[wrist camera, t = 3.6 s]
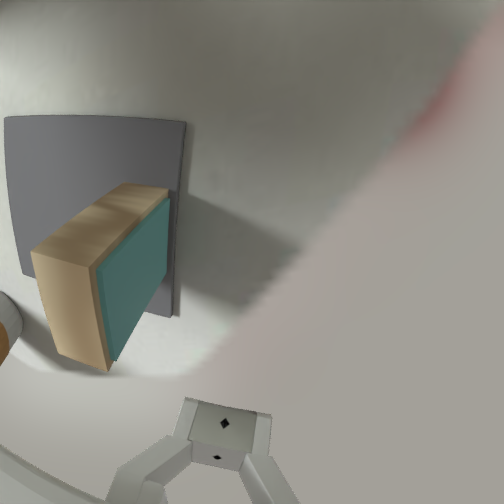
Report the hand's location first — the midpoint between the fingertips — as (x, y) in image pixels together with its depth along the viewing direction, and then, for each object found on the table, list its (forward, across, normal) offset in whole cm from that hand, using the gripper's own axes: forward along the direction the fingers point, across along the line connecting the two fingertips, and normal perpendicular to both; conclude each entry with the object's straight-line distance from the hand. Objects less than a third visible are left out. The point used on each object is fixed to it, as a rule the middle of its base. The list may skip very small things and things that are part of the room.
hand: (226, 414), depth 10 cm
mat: (+12, +13, 0) cm, 17 cm away
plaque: (+11, +8, 0) cm, 13 cm away
